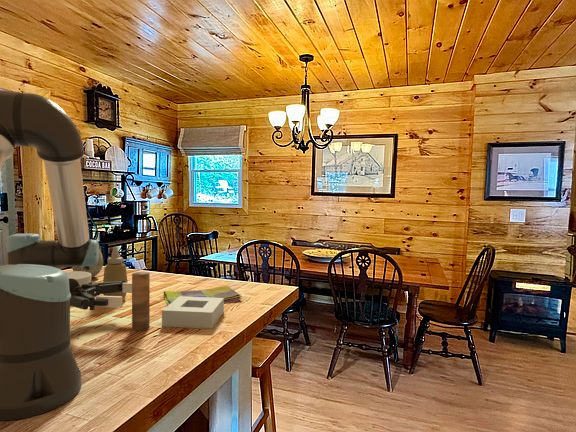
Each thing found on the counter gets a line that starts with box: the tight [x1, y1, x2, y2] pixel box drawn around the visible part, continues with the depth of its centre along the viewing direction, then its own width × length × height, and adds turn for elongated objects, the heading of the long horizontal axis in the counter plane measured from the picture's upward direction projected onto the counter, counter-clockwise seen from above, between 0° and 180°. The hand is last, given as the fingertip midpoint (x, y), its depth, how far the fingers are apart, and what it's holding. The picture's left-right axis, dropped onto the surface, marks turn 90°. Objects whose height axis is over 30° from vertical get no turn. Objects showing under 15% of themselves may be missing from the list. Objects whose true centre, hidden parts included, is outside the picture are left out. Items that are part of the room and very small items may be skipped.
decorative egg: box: [71, 248, 104, 279], centre depth 154 cm, size 12×12×15 cm
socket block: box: [161, 296, 225, 330], centre depth 108 cm, size 14×14×4 cm
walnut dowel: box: [131, 271, 151, 332], centre depth 100 cm, size 4×4×15 cm
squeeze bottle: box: [102, 246, 129, 301], centre depth 125 cm, size 8×8×18 cm
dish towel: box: [163, 285, 243, 306], centre depth 130 cm, size 18×24×3 cm
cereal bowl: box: [64, 270, 93, 286], centre depth 129 cm, size 17×17×7 cm
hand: (134, 294), depth 101 cm, fingers open, 13 cm apart
